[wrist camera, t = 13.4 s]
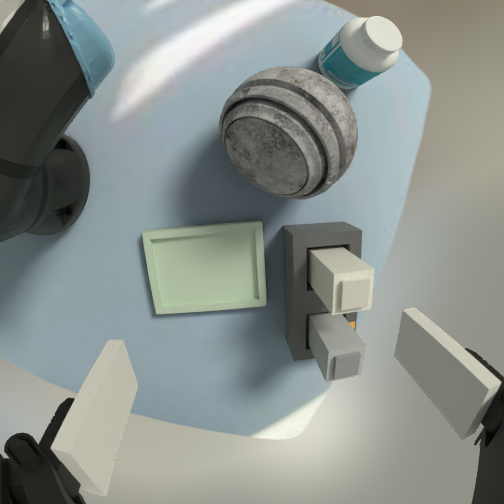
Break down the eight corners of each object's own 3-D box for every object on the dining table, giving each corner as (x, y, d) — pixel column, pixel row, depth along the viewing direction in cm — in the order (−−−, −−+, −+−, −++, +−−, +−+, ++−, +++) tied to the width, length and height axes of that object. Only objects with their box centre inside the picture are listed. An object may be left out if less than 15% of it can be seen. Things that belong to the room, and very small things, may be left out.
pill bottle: (368, 89, 36) (420, 65, 23) (323, 92, 36) (365, 62, 23) (356, 45, 34) (400, 10, 21) (310, 46, 34) (344, 3, 21)
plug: (302, 331, 43) (327, 385, 31) (302, 305, 42) (330, 354, 30) (330, 327, 43) (362, 377, 31) (332, 301, 42) (367, 347, 30)
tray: (158, 309, 42) (156, 314, 41) (144, 230, 39) (142, 232, 38) (265, 301, 43) (266, 305, 42) (260, 220, 40) (262, 221, 39)
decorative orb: (199, 137, 36) (184, 118, 22) (276, 67, 34) (303, 18, 20) (279, 213, 40) (310, 238, 26) (350, 143, 38) (410, 134, 24)
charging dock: (286, 338, 45) (308, 401, 31) (283, 225, 41) (313, 255, 27) (339, 331, 46) (376, 386, 32) (344, 221, 41) (397, 247, 27)
